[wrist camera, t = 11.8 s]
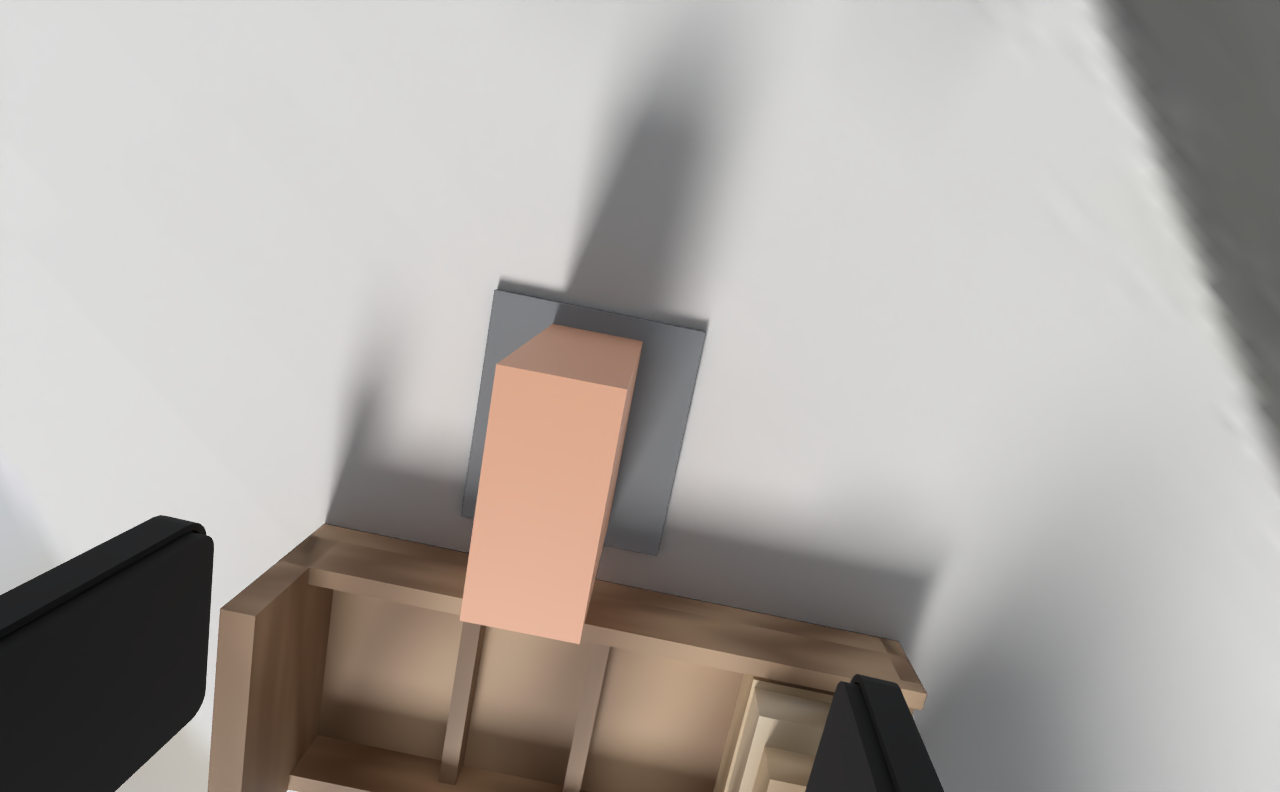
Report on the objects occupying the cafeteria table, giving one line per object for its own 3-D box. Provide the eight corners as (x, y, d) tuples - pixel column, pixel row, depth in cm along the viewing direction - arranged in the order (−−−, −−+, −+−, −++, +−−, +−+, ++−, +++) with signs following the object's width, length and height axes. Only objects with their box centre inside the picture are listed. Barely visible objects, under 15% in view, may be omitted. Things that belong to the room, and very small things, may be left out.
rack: (898, 641, 26) (964, 762, 20) (837, 835, 27) (881, 998, 22) (324, 523, 26) (219, 609, 20) (303, 725, 28) (203, 857, 22)
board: (643, 341, 23) (627, 389, 16) (608, 523, 25) (579, 644, 18) (552, 323, 23) (496, 363, 16) (523, 507, 25) (459, 620, 18)
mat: (705, 331, 23) (705, 333, 23) (657, 552, 25) (657, 556, 25) (496, 289, 24) (494, 290, 23) (463, 512, 25) (461, 516, 25)
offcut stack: (862, 676, 25) (899, 766, 21) (816, 827, 26) (842, 940, 22) (749, 653, 25) (763, 738, 21) (709, 805, 26) (715, 913, 22)
